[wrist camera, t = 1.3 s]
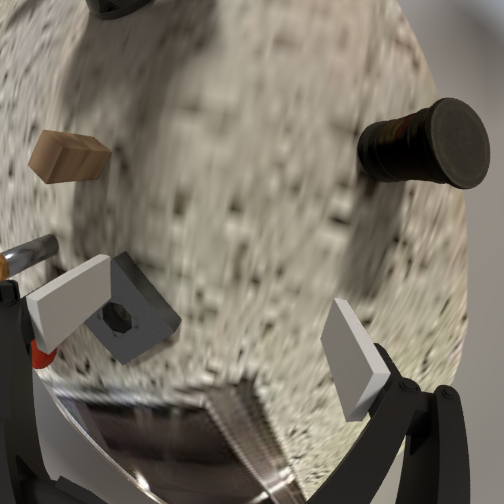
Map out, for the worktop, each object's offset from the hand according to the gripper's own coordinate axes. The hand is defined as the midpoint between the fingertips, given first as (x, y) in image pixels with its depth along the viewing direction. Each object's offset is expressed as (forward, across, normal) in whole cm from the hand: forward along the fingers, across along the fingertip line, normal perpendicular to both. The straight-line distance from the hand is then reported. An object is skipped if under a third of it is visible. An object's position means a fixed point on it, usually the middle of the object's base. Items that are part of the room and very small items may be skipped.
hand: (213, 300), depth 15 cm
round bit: (+23, -34, -9) cm, 42 cm away
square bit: (+23, -25, +7) cm, 35 cm away
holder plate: (+24, -17, -17) cm, 34 cm away
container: (+24, +18, +15) cm, 33 cm away
